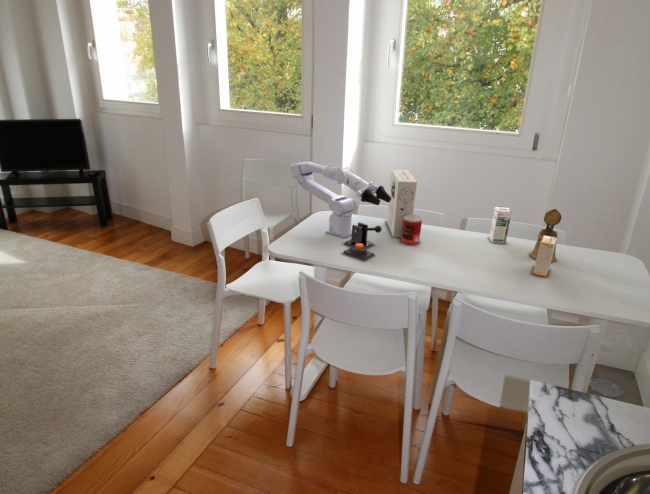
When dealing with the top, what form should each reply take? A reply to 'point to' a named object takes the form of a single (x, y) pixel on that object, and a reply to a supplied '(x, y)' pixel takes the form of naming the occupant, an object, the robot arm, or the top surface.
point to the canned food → (411, 229)
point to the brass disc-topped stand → (548, 231)
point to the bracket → (359, 236)
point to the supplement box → (544, 255)
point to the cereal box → (400, 199)
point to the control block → (359, 253)
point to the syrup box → (500, 225)
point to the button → (359, 246)
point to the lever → (372, 229)
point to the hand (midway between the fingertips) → (384, 201)
